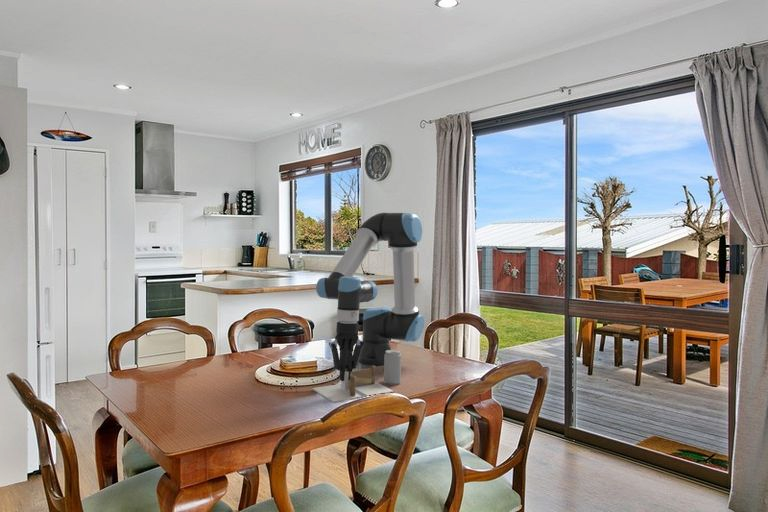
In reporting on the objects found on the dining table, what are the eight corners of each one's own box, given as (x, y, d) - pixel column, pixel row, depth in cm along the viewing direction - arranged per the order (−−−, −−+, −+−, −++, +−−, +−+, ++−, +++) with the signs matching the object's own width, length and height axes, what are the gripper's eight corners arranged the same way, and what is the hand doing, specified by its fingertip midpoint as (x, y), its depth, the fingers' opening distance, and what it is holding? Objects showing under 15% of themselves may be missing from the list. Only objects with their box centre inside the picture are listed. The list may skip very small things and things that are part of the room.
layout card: (312, 389, 192) (312, 387, 192) (370, 380, 205) (370, 379, 205) (333, 402, 179) (333, 400, 179) (393, 392, 192) (393, 390, 192)
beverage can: (386, 385, 199) (387, 353, 199) (381, 380, 206) (382, 349, 205) (402, 384, 201) (403, 353, 200) (397, 380, 207) (398, 349, 207)
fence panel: (350, 395, 183) (351, 377, 183) (346, 387, 193) (347, 369, 192) (355, 395, 184) (356, 377, 184) (352, 387, 193) (352, 369, 193)
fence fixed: (345, 388, 195) (346, 367, 194) (373, 383, 201) (373, 364, 201) (347, 389, 193) (348, 369, 193) (375, 385, 200) (376, 365, 199)
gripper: (336, 324, 179) (332, 394, 180) (369, 322, 186) (365, 390, 187) (326, 320, 185) (322, 388, 186) (358, 319, 192) (355, 385, 193)
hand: (344, 389), depth 186 cm, fingers closed
